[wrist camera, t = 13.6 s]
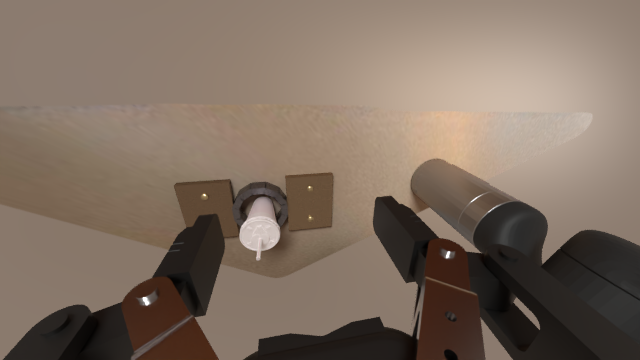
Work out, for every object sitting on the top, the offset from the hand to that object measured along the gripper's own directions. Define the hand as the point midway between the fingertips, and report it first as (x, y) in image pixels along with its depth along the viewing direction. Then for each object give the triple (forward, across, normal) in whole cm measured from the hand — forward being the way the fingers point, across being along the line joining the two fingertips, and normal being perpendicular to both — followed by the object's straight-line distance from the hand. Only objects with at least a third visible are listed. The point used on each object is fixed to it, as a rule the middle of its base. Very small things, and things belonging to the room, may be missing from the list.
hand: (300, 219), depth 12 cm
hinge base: (+30, +6, +17) cm, 35 cm away
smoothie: (+30, +6, +17) cm, 35 cm away
